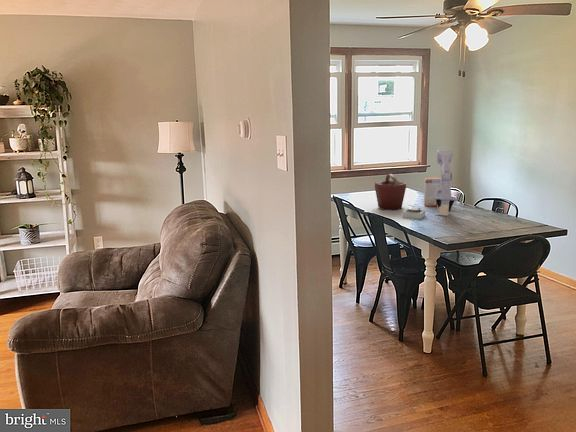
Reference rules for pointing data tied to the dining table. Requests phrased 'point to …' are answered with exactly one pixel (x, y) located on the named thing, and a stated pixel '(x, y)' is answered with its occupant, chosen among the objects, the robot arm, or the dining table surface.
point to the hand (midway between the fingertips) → (444, 211)
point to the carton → (444, 210)
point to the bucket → (390, 193)
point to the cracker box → (430, 191)
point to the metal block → (414, 210)
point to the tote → (413, 214)
